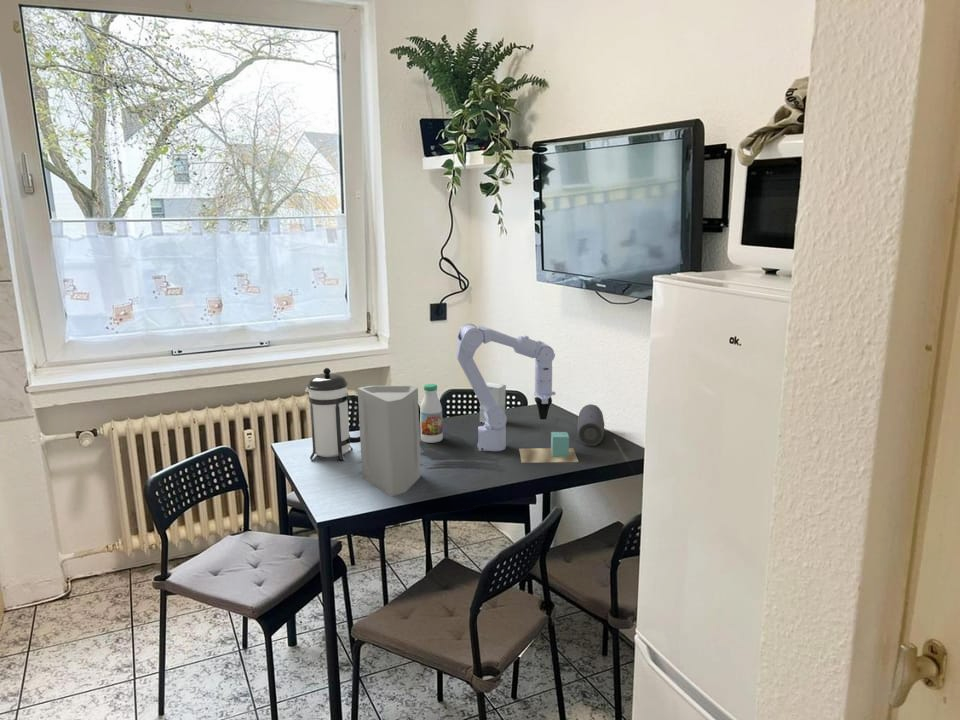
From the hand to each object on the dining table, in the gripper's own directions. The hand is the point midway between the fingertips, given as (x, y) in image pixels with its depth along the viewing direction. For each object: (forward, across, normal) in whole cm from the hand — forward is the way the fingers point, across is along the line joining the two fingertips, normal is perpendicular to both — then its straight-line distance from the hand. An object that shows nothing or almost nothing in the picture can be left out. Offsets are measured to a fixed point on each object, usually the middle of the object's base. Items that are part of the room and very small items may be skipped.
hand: (543, 418), depth 237 cm
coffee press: (+11, -6, +69) cm, 70 cm away
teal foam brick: (+9, -10, -5) cm, 14 cm away
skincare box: (+11, +30, +17) cm, 36 cm away
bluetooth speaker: (+10, +9, -18) cm, 22 cm away
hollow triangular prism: (+11, -28, +46) cm, 55 cm away
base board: (+10, -11, -1) cm, 15 cm away
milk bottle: (+11, +9, +38) cm, 41 cm away
